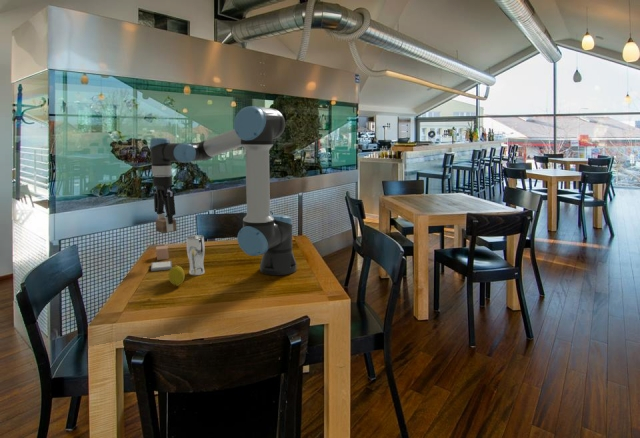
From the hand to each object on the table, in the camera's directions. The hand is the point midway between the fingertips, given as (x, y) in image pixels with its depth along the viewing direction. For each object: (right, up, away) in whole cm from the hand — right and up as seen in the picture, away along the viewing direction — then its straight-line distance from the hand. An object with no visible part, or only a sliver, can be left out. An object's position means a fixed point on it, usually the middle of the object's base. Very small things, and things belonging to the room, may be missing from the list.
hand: (166, 230), depth 181 cm
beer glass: (+16, -17, -9) cm, 25 cm away
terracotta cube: (-6, -13, +11) cm, 18 cm away
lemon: (+13, -20, -24) cm, 34 cm away
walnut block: (0, 0, 0) cm, 0 cm away
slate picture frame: (-1, -16, -2) cm, 16 cm away
